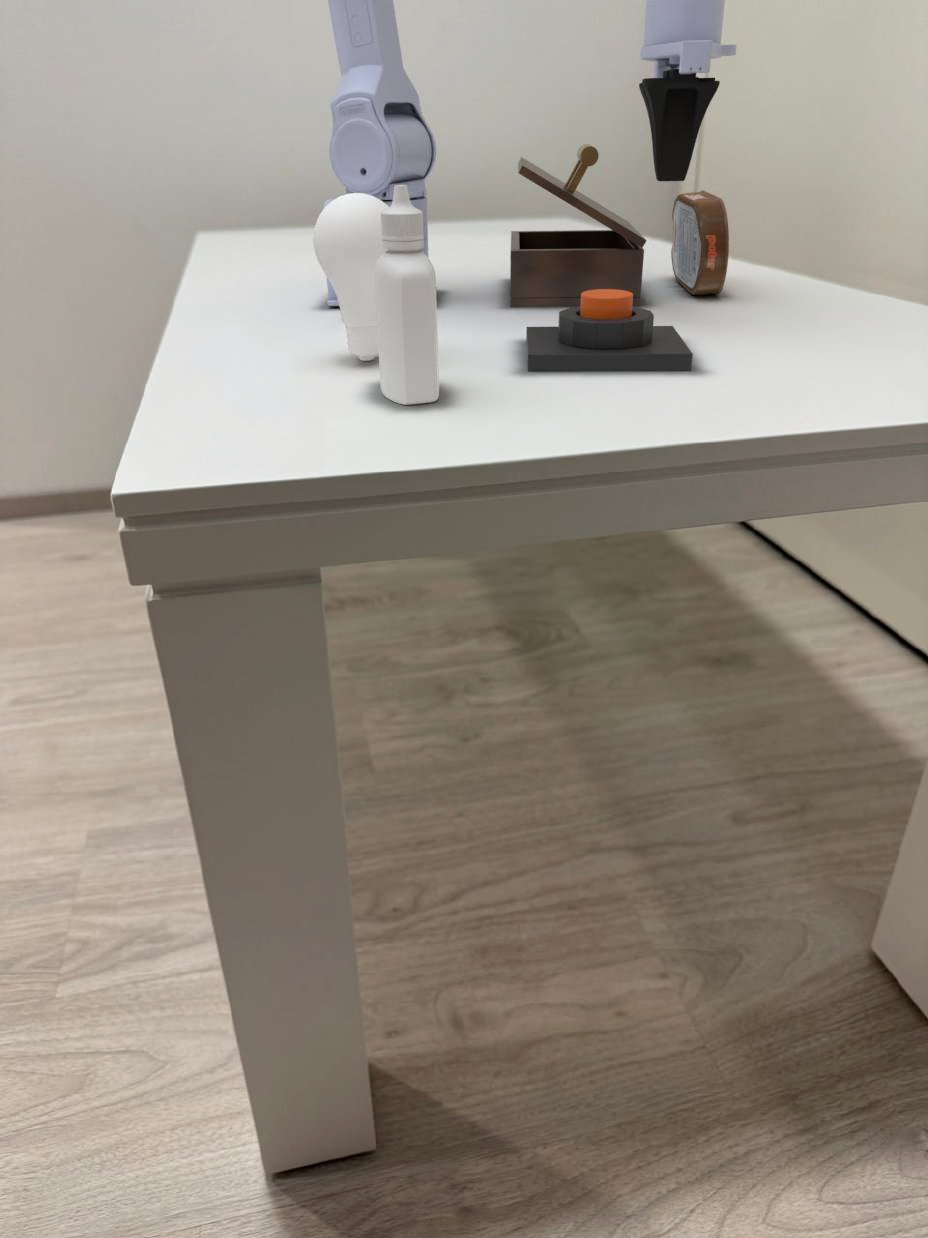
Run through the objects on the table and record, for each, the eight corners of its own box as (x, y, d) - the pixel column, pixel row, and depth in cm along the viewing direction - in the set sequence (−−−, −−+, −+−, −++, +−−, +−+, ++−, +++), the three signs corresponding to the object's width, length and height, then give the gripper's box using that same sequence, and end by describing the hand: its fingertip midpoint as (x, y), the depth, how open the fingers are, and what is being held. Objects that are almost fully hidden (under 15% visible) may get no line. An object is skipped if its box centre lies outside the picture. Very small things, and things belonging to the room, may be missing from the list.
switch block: (527, 372, 63) (528, 326, 61) (526, 342, 71) (526, 301, 69) (691, 371, 62) (695, 325, 61) (671, 341, 70) (675, 300, 69)
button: (581, 324, 64) (582, 298, 63) (578, 314, 67) (579, 288, 66) (634, 324, 64) (635, 297, 63) (628, 313, 67) (630, 288, 66)
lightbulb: (342, 375, 63) (327, 198, 58) (312, 357, 68) (296, 192, 62) (423, 363, 65) (416, 193, 60) (389, 347, 70) (380, 187, 65)
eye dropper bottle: (452, 384, 61) (448, 181, 55) (433, 408, 56) (426, 189, 50) (388, 381, 61) (377, 181, 56) (363, 405, 56) (349, 189, 51)
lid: (518, 172, 78) (546, 117, 76) (517, 163, 91) (542, 115, 89) (642, 247, 80) (673, 195, 78) (624, 228, 93) (651, 183, 91)
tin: (726, 301, 84) (738, 200, 80) (691, 302, 84) (701, 200, 80) (693, 275, 97) (702, 186, 93) (663, 275, 97) (671, 187, 93)
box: (510, 307, 83) (510, 250, 81) (510, 280, 96) (511, 230, 94) (640, 306, 83) (644, 249, 80) (623, 279, 95) (626, 229, 93)
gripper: (766, -40, 61) (740, 186, 68) (723, -15, 74) (704, 173, 80) (658, -37, 62) (642, 187, 68) (634, -13, 74) (622, 175, 81)
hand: (670, 180), depth 74 cm, fingers closed
